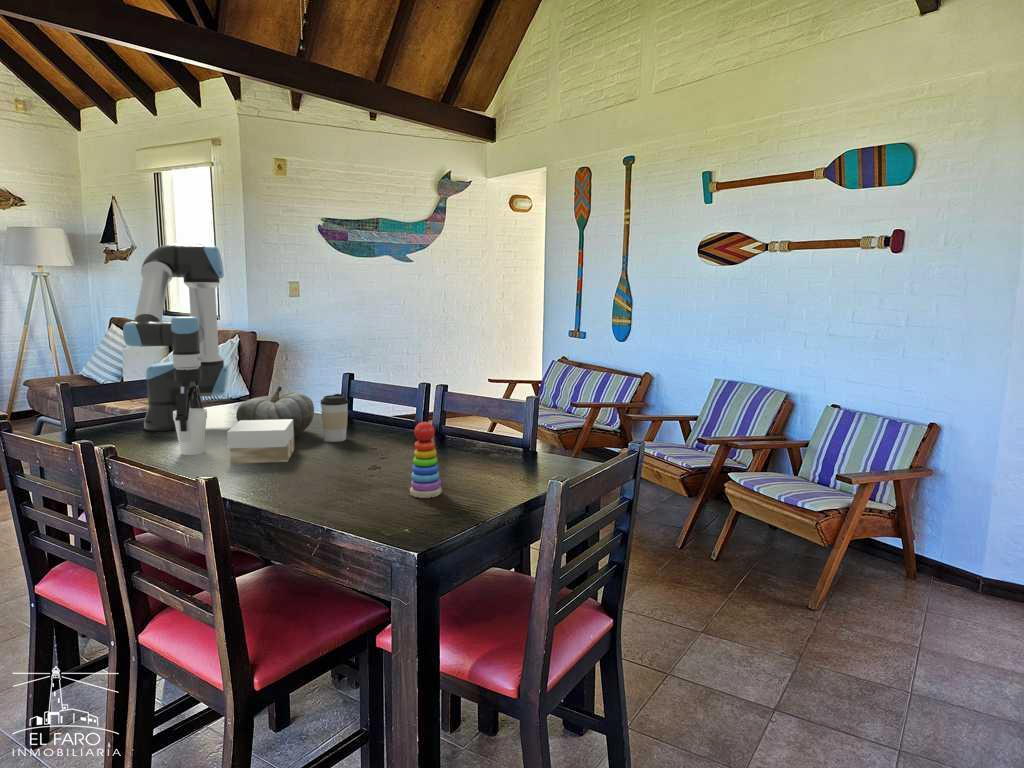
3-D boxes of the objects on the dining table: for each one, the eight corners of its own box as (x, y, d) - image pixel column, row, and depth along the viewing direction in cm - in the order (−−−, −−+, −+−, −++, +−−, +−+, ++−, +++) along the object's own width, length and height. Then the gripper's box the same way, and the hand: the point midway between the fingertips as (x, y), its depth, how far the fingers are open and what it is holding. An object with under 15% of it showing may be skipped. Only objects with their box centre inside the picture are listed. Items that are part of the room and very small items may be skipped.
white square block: (240, 436, 214) (239, 420, 214) (293, 434, 217) (293, 419, 216) (228, 448, 199) (227, 431, 198) (285, 446, 201) (284, 430, 201)
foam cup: (214, 452, 212) (212, 411, 210) (183, 458, 205) (180, 415, 203) (201, 447, 218) (198, 407, 216) (170, 452, 211) (168, 410, 209)
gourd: (329, 430, 232) (317, 380, 229) (256, 452, 218) (242, 400, 215) (304, 424, 252) (293, 379, 250) (235, 445, 238) (222, 396, 236)
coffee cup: (341, 443, 226) (340, 398, 224) (316, 441, 228) (315, 397, 225) (353, 437, 235) (352, 393, 232) (329, 435, 236) (327, 392, 234)
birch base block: (241, 451, 215) (240, 435, 215) (294, 449, 218) (294, 434, 218) (230, 465, 200) (229, 448, 199) (287, 463, 203) (287, 446, 202)
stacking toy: (410, 489, 177) (410, 418, 175) (442, 489, 178) (441, 418, 175) (409, 499, 170) (408, 425, 167) (441, 499, 170) (441, 425, 167)
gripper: (189, 372, 196) (193, 445, 199) (210, 363, 220) (213, 428, 223) (161, 373, 195) (166, 446, 198) (185, 363, 219) (189, 428, 222)
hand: (191, 436), depth 210 cm, fingers open, 13 cm apart
